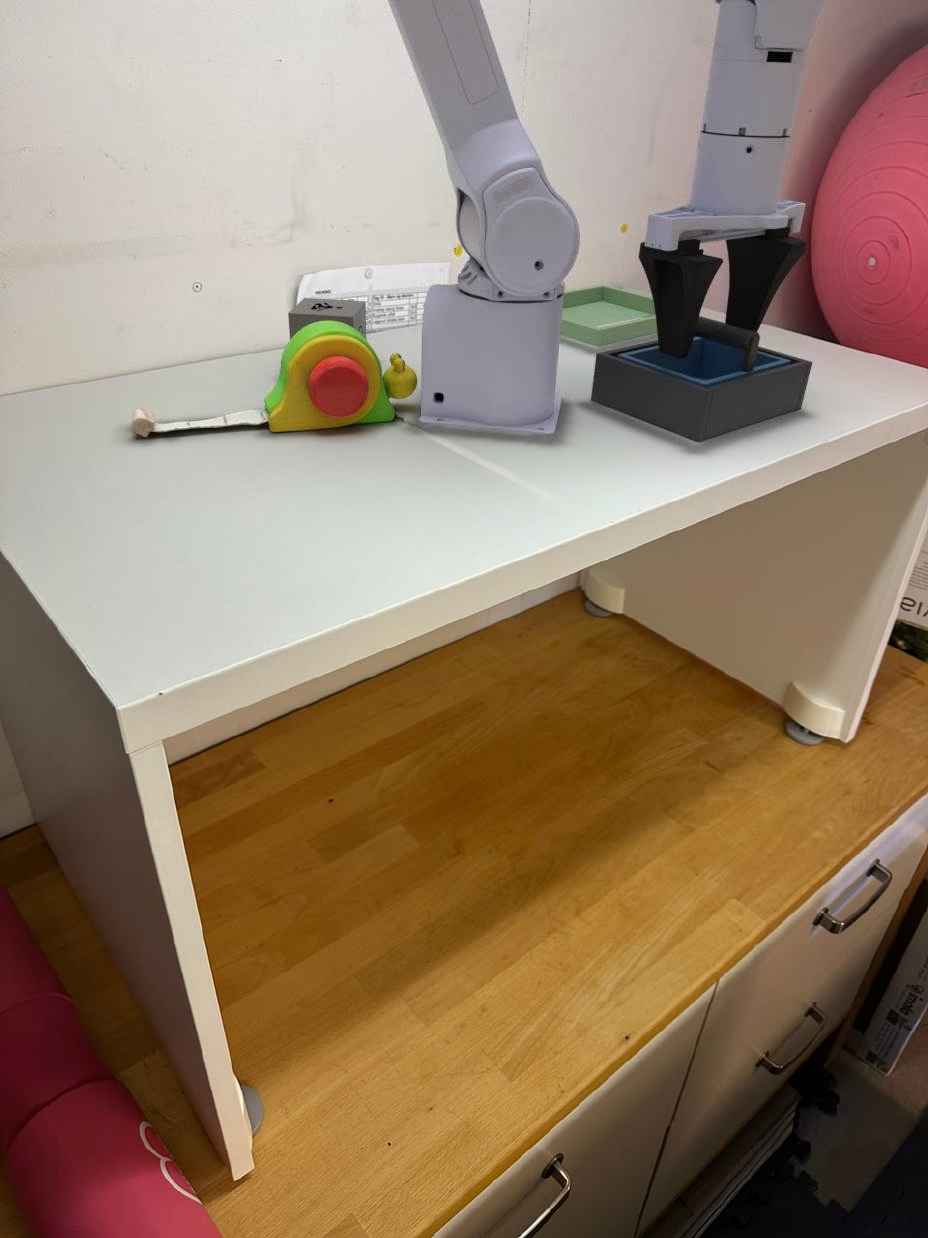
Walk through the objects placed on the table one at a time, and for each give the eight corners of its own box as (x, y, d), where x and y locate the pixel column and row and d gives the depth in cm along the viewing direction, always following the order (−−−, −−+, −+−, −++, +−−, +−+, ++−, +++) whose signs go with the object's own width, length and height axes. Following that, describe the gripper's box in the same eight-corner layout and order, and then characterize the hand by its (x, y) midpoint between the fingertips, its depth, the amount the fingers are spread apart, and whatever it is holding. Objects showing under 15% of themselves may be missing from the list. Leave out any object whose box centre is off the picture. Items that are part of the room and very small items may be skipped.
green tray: (596, 351, 79) (599, 329, 78) (504, 321, 87) (505, 301, 86) (693, 328, 87) (697, 308, 86) (601, 302, 95) (603, 284, 94)
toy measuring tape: (427, 429, 62) (429, 333, 58) (133, 451, 57) (115, 348, 53) (406, 399, 67) (406, 309, 63) (134, 416, 62) (118, 320, 58)
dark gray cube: (308, 359, 74) (304, 297, 72) (367, 363, 74) (365, 301, 71) (292, 377, 70) (288, 312, 67) (355, 381, 70) (353, 316, 67)
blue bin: (695, 433, 61) (712, 343, 58) (611, 400, 67) (622, 316, 63) (780, 406, 67) (800, 322, 64) (696, 378, 72) (710, 299, 69)
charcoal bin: (696, 448, 60) (707, 391, 58) (589, 406, 67) (595, 352, 65) (799, 414, 67) (813, 361, 65) (693, 378, 74) (701, 329, 71)
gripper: (725, 142, 51) (685, 377, 58) (862, 136, 58) (812, 344, 66) (633, 131, 55) (607, 351, 62) (771, 127, 63) (733, 322, 70)
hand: (706, 346), depth 64 cm, fingers open, 7 cm apart
